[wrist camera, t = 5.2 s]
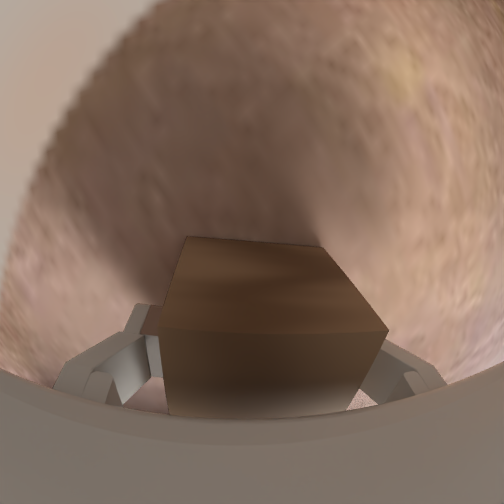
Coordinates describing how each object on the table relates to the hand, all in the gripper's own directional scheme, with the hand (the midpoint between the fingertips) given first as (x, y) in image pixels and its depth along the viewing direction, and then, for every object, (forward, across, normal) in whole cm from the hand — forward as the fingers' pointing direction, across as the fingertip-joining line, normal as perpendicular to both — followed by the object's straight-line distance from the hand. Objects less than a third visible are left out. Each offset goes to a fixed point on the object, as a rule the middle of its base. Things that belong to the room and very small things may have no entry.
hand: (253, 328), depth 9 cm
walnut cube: (+2, 0, 0) cm, 2 cm away
